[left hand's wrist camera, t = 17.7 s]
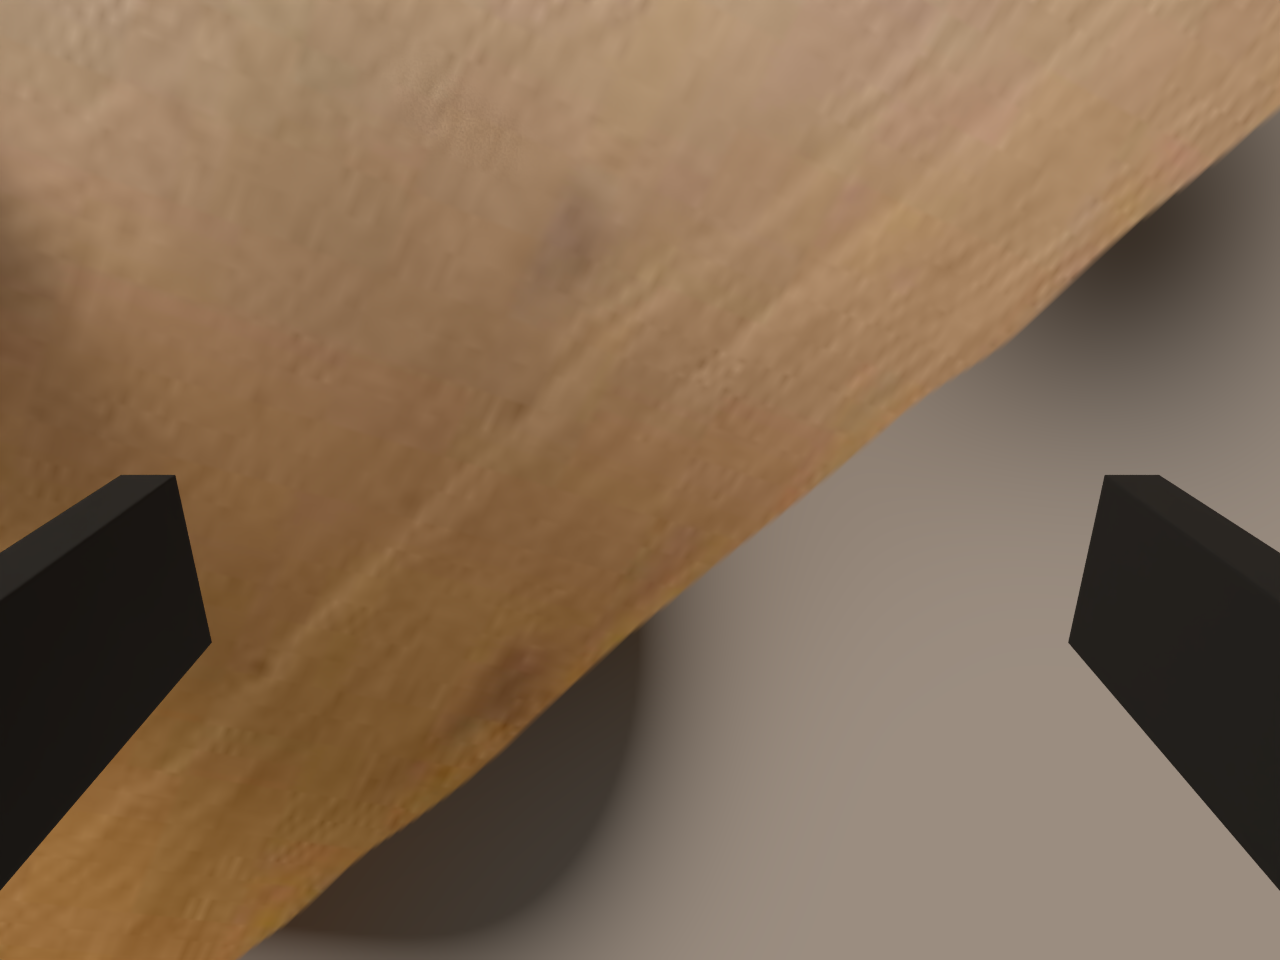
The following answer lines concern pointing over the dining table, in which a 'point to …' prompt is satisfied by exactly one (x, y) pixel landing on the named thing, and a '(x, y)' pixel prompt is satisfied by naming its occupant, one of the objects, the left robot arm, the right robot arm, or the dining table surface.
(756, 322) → the dining table surface
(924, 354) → the dining table surface
